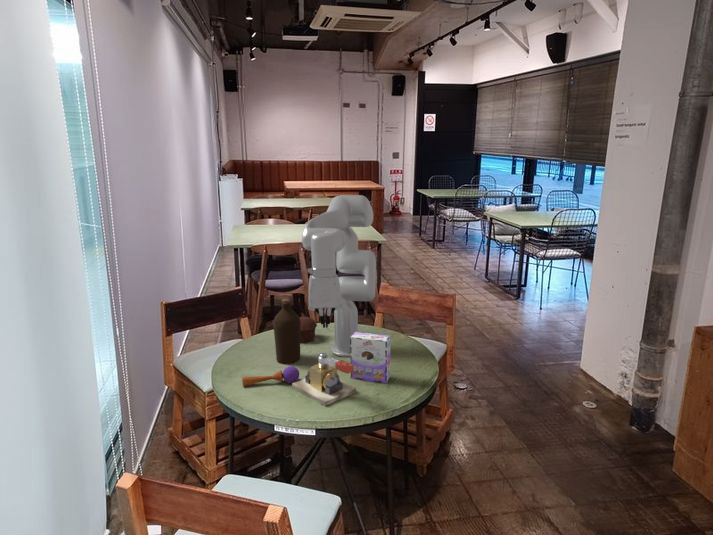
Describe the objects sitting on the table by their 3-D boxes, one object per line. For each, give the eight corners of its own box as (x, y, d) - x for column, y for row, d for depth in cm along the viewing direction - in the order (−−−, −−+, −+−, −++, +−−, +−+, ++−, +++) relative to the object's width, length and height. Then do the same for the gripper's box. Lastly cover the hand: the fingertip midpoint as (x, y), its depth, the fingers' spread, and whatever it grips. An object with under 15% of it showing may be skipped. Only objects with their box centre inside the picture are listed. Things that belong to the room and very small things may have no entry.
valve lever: (316, 366, 169) (316, 354, 168) (323, 363, 171) (323, 351, 170) (347, 378, 159) (347, 366, 158) (353, 375, 162) (353, 363, 161)
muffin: (300, 347, 207) (299, 324, 205) (285, 339, 215) (284, 318, 213) (322, 339, 215) (322, 318, 213) (307, 332, 223) (306, 311, 221)
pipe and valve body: (319, 376, 178) (319, 358, 176) (343, 388, 168) (343, 369, 167) (304, 382, 173) (303, 364, 171) (328, 395, 164) (327, 376, 162)
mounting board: (322, 374, 182) (322, 371, 182) (356, 391, 169) (356, 387, 169) (292, 387, 173) (292, 383, 172) (325, 406, 160) (325, 402, 160)
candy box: (390, 377, 180) (391, 335, 176) (386, 384, 175) (386, 341, 171) (355, 371, 184) (355, 330, 180) (350, 378, 179) (349, 336, 175)
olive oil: (294, 366, 189) (292, 305, 183) (270, 362, 192) (266, 302, 186) (306, 355, 199) (304, 296, 193) (282, 352, 202) (280, 294, 196)
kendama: (242, 371, 177) (298, 363, 180) (244, 387, 177) (300, 379, 180) (241, 375, 171) (298, 367, 174) (243, 392, 171) (300, 383, 174)
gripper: (299, 275, 151) (301, 331, 156) (348, 274, 152) (349, 329, 157) (300, 269, 158) (302, 322, 163) (346, 268, 159) (347, 321, 164)
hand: (325, 326), depth 160 cm, fingers closed
